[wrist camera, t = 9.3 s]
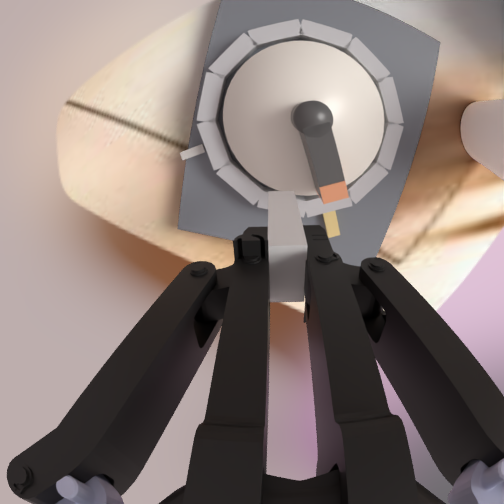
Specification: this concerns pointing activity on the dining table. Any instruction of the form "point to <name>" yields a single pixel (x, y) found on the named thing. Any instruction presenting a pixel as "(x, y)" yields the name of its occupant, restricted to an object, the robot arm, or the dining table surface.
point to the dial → (304, 119)
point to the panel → (382, 74)
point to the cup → (485, 134)
